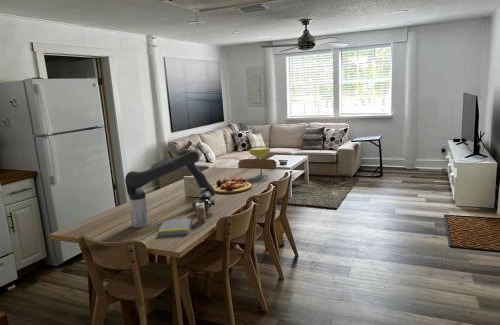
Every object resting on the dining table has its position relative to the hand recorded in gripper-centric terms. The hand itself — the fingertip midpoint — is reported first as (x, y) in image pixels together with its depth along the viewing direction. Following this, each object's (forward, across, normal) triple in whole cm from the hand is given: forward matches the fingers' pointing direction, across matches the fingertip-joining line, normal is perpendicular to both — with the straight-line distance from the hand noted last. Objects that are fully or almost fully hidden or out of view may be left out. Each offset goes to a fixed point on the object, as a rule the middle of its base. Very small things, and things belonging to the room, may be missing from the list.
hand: (202, 206), depth 236 cm
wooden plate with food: (-64, +15, +7) cm, 66 cm away
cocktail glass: (-100, +40, +6) cm, 108 cm away
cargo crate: (+9, 0, +6) cm, 11 cm away
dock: (+21, -13, +6) cm, 25 cm away
